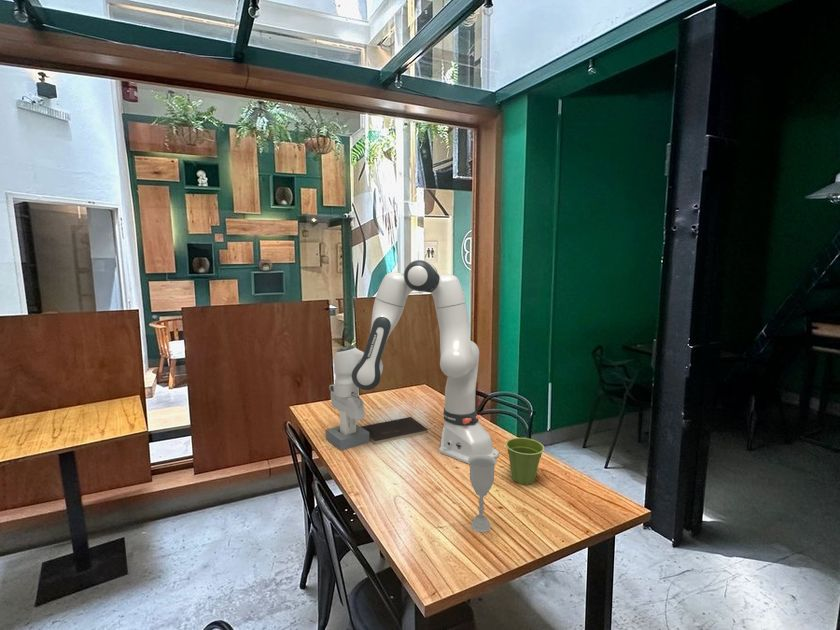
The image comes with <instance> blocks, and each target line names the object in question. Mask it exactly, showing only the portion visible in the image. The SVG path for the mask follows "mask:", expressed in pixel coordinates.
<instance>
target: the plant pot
mask: <svg viewBox="0 0 840 630" xmlns="http://www.w3.org/2000/svg"><path fill="white" fill-rule="evenodd" d="M505 447H506V449H507V454H508V459H509V467H510V475H511V476H510V477H511V479H512V480H513V481H514V482H516V483H517V484H520V485H531V484H532V483H534V482H535V481H536V478H537V477H536V475H537V471H538V468H539V463H540V460H541V458H542V455H543V452H544V451H545V446H544V445H543V444H542V443H541V442H540V441H537V440H536V439H532V438H528V437H527V438H526V437H513V438H509V439H508V440H507V441H506V442H505Z"/></svg>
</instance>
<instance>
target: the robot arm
mask: <svg viewBox="0 0 840 630" xmlns="http://www.w3.org/2000/svg"><path fill="white" fill-rule="evenodd" d="M437 270H438V269H436V267H435V266H434V265H433V264H432V263H431V262H429V261H427V260H422V259H421V260H420V259H419V260H413V261H411V262H410V263H408V264H407V266H406V267H405V270H404V272H403V273H402V272H401V273H400V272H397V271H391V272H388V273H386V274H385V276H384V277H383V278H382V280H381V283H380V285H379V288H378V289H377V292H376V296H375V299H374V302H373V306H372V312H371V323H370V331H369V336H368V339H367V342H366V345H365V349H364V351H362V350H360V349H358V348H357V347H356V346H353V345H352V346H351V345H350V346H343V347H341V348H338V349H337V350H336V352H335V354H334V357H333V359H334V360H333V364H334V365H333V370H334V371H333V372H334V375H335V377H334V383H333V384H329V391H330V405H332V406H331V407H332V408H334V409H335V410H337V411H339V410H340V409H341V410H342V411H344V412H346V415H347V416H348V417H349V418H350V422H349V427H350V428H354V427H355V421H356V422H357V421H361V420H364V418H365V405H364V401H363V399H362V398H361V397H360V395H359V394H360V389H361V390H363V391H369V390H373V389H375V388H376V387H377V386H378V385H379V383H380V381H381V376H382V374H383V371H384V363H383V360H382V356H383V353H384V351H385V347H386V344H387V341H388V339H389V337H390V335H391V333H392V331H394V329H395V327H396V326H397V324H398V322H399V321H400V319H401V317H402V314H403V312H404V310H405V306H406V302H407V300H408V297H409V295H410V294H411V293H412V292H414V291H415V292H420V293H421V292H423V293H430V294H431V296H432V298H433V302H434V308H435V312H436V318H437V322H438V323H437V325H438V329H439V347H440V348H439V350H440V351H439V352H440V359H439V366H440V369H441V372H442V373H443V374H444V376H447V378H446V384H445V388H444V408H443V420H444V423H443V426H442V432H441V439H440V443H439V444H440V445H439V448H438V452H439V453H440V454H443V455H445V456H448V457H450V458H453V459H456V460H458V461H461V462H463V463H465V464H468V465H470V464H469V462H468V459H469V457H471V456H474V455H487V456H491V457H493V458H495V459H497V458H498V457H499V455H500V452H499V450H497V449H496V448H494V447H493V440H492V438H491V435H490V434H489V431H487V430H486V429H485V428H484V427H483V426H482V424H481V423H480V421H479V419H481V414H478V411H477V409H476V389H477V388H476V387H477V381H478V380H477V379H478V372H479V360H480V348H479V346H478V345H477V343H475V342H474V341H473V340H471V339H470V338H471V336H470V335H471V334H470V317H469V313H468V307H467V302H466V301H467V300H466V298H465V294H464V290H463V287H462V285H461V282H460V280H459V278H458V276H456V275H453V274H449V273H448V274H440V273H438V271H437Z"/></svg>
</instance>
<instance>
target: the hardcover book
mask: <svg viewBox="0 0 840 630" xmlns="http://www.w3.org/2000/svg"><path fill="white" fill-rule="evenodd" d="M359 426H360V427H362V428H363V429H365V430H367V431H368V432H369V441H371V442H372V443H373V444H374V445H378V444H384V443H388V442H393V441H397V440H398V441H399V440H402V439H407V438H411V437H416V436H421V435H425V434H426V435H427V434H428V431H429V429H428V428H427V427H426V426H425V425H423V424H421V422H419V421H418V420H416V419H415V418H414V417H412V416H407V417H403V418H397V419H393V420H392V419H391V420H387V421H382V422H377V423H372V424H365V425H359Z"/></svg>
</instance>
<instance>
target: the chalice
mask: <svg viewBox="0 0 840 630" xmlns="http://www.w3.org/2000/svg"><path fill="white" fill-rule="evenodd" d="M468 462H469V464H468V465H469V481H470V483H471V486H472V488H473V490H474V493H475V495H477V496H479V498H478V501H477V503H478V504H479V506H478V507H477V510H478V514H477V515H475V516H474V518H473V520H472V522H471V524H470V527H471V529H472V530H473V531H475V532H477V533H486V532H489V531H490V530H491V524H490V522H489V519H488V517H487V516H486V515H484V511H485V510H486V509H485V507H484V504H485V500H484V497H486V496H487V495H488V493H489V492H490V490H491V488H492V486H493V484H494V481H495V467H496V464H497V458H493V457H491V456H487V455H474V456H471V457H469V459H468Z"/></svg>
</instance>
